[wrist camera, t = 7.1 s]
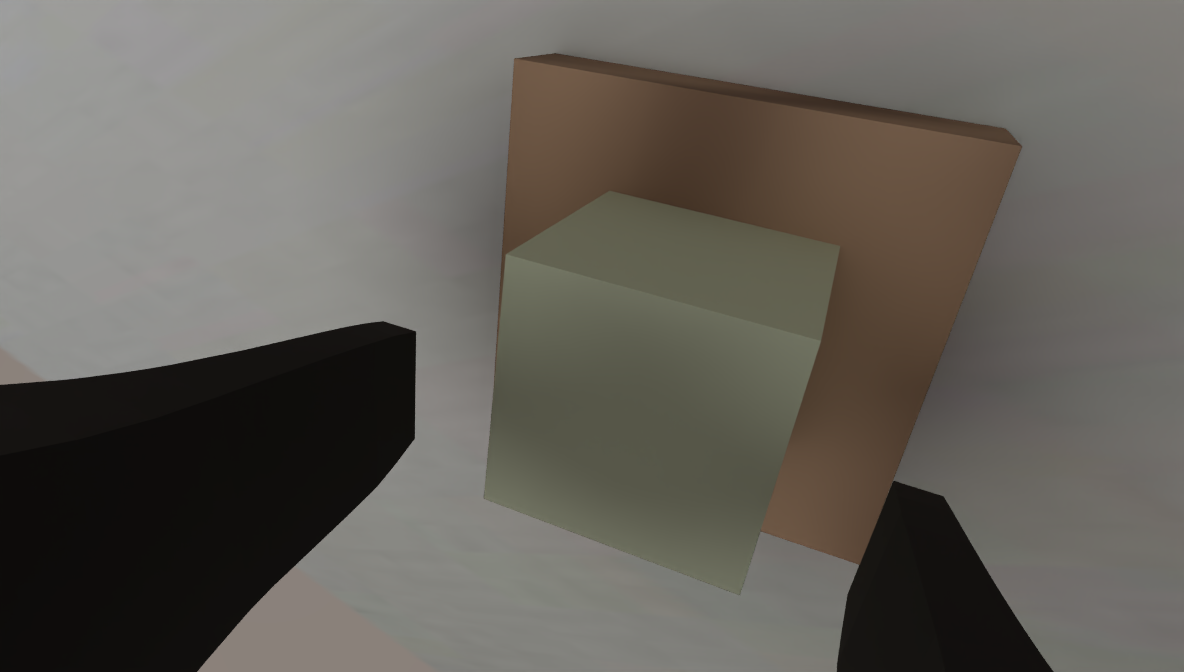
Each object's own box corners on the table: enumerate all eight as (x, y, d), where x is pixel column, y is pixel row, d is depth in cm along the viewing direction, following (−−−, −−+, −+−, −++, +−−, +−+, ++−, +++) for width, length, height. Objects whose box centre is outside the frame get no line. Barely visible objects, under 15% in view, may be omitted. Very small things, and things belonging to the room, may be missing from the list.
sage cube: (840, 245, 13) (820, 340, 9) (777, 447, 15) (740, 595, 11) (609, 190, 14) (505, 254, 10) (580, 384, 16) (483, 499, 12)
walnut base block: (1001, 125, 13) (1022, 146, 11) (864, 497, 18) (860, 565, 15) (565, 52, 16) (514, 58, 14) (533, 393, 20) (490, 439, 18)
